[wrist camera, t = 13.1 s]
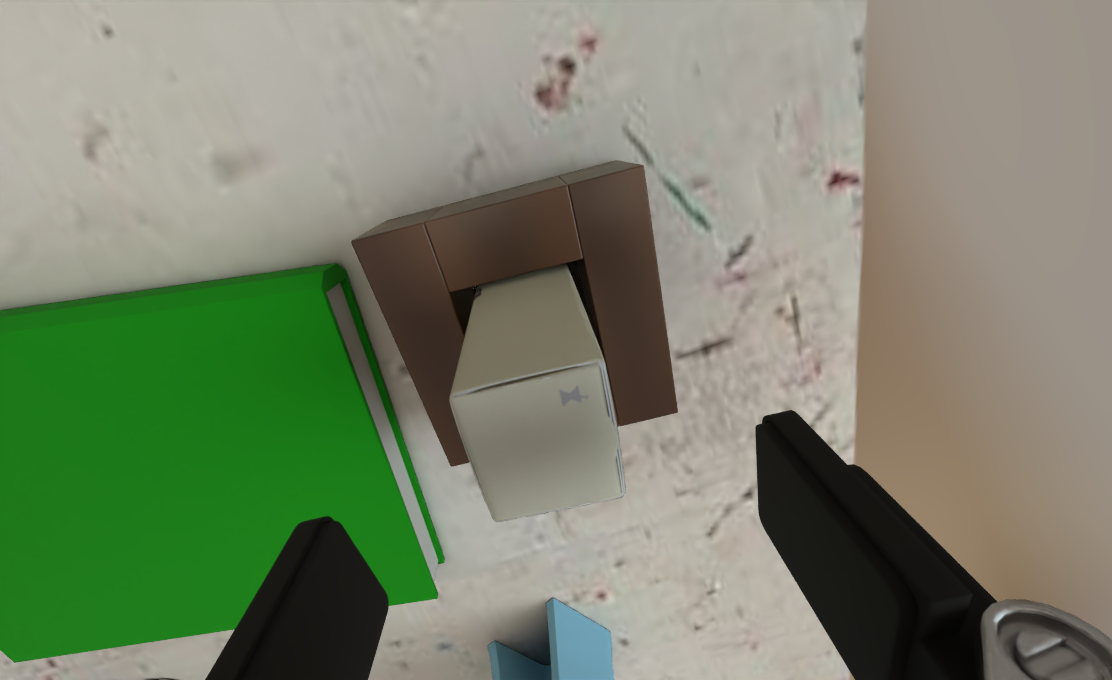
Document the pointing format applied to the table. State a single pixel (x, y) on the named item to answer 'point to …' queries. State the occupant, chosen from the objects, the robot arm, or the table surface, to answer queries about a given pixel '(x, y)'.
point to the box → (536, 399)
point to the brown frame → (517, 248)
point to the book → (191, 457)
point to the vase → (560, 651)
